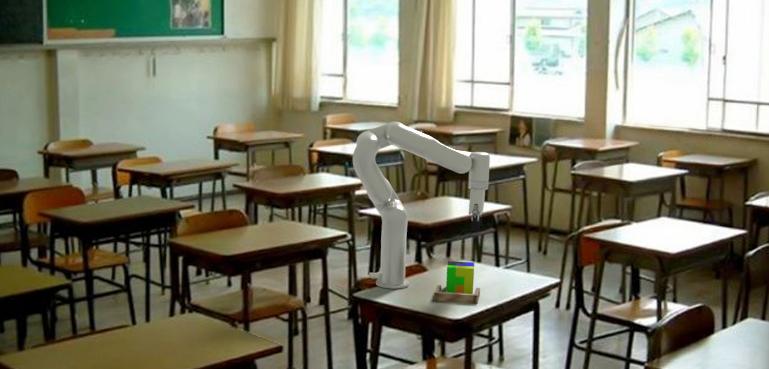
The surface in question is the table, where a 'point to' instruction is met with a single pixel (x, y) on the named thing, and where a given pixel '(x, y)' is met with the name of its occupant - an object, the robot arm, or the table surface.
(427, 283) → the table surface
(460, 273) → the puzzle toy
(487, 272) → the table surface
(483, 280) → the table surface
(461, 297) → the base frame
